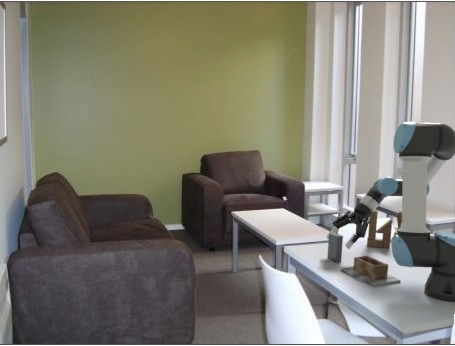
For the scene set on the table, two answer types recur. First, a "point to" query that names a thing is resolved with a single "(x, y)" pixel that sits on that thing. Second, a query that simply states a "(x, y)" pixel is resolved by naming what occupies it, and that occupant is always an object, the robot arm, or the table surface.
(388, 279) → the post slot
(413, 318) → the table surface
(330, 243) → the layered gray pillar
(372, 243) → the wooden angular frame
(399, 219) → the hand bell
